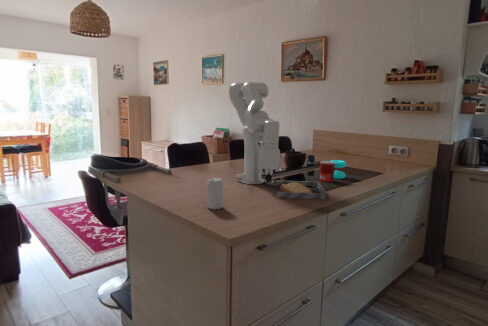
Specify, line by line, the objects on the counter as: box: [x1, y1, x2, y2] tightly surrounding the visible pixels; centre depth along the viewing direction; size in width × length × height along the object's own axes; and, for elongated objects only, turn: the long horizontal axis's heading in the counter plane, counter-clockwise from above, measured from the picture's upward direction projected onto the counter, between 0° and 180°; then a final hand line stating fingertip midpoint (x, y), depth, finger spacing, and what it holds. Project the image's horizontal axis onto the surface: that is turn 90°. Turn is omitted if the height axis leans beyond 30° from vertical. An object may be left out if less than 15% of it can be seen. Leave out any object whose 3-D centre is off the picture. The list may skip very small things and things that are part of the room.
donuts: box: [330, 159, 347, 180], centre depth 195 cm, size 10×10×10 cm
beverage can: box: [206, 177, 224, 211], centre depth 133 cm, size 6×6×12 cm
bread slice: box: [279, 182, 312, 193], centre depth 163 cm, size 18×18×4 cm
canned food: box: [319, 160, 336, 183], centre depth 186 cm, size 8×8×11 cm
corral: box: [274, 179, 329, 200], centre depth 162 cm, size 23×24×2 cm
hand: (268, 181), depth 163 cm, fingers closed
